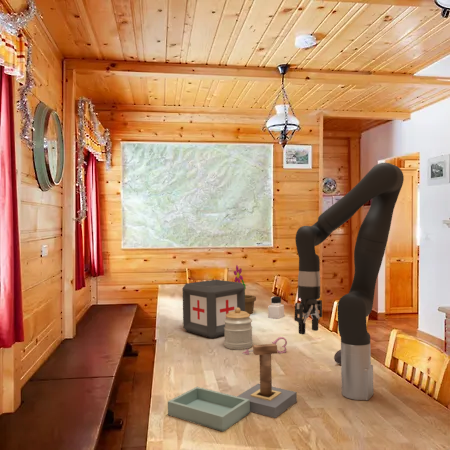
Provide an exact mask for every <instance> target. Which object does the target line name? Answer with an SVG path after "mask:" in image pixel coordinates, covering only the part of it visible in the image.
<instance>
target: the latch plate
mask: <svg viewBox="0 0 450 450" xmlns="http://www.w3.org/2000/svg"><path fill="white" fill-rule="evenodd" d="M236 396H237V397H241V398H245V399H249V400H250V413H255V414H258V415H262V416H265V417H270V418H273V419H276V418H277V417H279V416H280V415H281V414H283V413H284V412H285V411H286V410H288V409H289V408H290V407H292V406H293V405H294V404H296V403H297V402H298V398H297V392H296V391H295V390H294V391H293V390H290V389H284V388H281V387H276V386H272V396H270V397H264V396H260V383H257V384H255V385H253V386H252V387H249V388H248V389H247V390H245V391H244V392H242V393H240V394H238V395H236Z"/></svg>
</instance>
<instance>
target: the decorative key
mask: <svg viewBox="0 0 450 450" xmlns="http://www.w3.org/2000/svg"><path fill="white" fill-rule="evenodd" d="M280 340H284V341H285V342H284V344H283V345H282V348H283V349H284V350H282V351H281V350H278V349H277V353H278V354H285V353H286V352H287V347H286V346H287V344H288V342H287V339H286V338H285V337H283V336H279V337H278V338H276V339H275V340H273V341H271V344H276V345H277V343H278V342H279V341H280ZM250 353H253V349H251V350H249V348H247V349H245V351H243V352H242V354H246V355H250Z"/></svg>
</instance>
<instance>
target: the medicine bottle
mask: <svg viewBox="0 0 450 450" xmlns="http://www.w3.org/2000/svg"><path fill="white" fill-rule="evenodd" d="M267 314H268V315H267V316H268V317H267V318H269V319H278V320H279V319H282V318H284V317H285V305H284V304H282V298H281V297H280V296H271V297H270V305H268V306H267Z"/></svg>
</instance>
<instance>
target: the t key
mask: <svg viewBox="0 0 450 450" xmlns="http://www.w3.org/2000/svg"><path fill="white" fill-rule="evenodd" d="M252 350H253V352H252V353H253V354H254V355H255V356H259V357H258V358H259V384H260V396H264V397H270V396H272V387H273V385H272V379H273V378H272V377H273V376H272V355H274V354H278V352H277V350H278V345H277V343H276V344H272V343H266V344H265V343H264V344H254V345H253V344H252Z"/></svg>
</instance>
